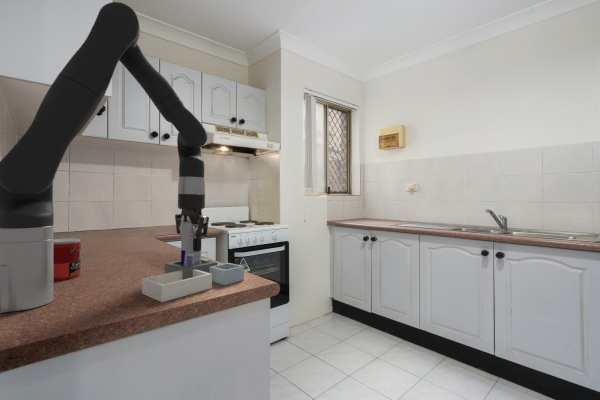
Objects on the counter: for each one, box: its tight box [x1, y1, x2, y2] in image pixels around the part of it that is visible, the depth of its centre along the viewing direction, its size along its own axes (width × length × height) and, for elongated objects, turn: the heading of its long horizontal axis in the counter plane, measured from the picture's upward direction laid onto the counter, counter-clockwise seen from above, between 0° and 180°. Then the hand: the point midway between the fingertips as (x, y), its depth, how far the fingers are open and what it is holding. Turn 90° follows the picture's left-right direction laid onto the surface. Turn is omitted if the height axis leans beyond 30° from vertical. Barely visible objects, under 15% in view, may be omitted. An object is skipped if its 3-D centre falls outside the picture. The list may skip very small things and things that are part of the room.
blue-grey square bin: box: [209, 262, 245, 286], centre depth 87 cm, size 7×7×4 cm
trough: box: [141, 269, 213, 303], centre depth 77 cm, size 14×10×4 cm
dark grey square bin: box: [164, 257, 218, 280], centre depth 89 cm, size 10×10×5 cm
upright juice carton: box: [180, 221, 202, 267], centre depth 89 cm, size 6×6×15 cm
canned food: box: [53, 237, 82, 282], centre depth 88 cm, size 8×8×11 cm
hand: (191, 249), depth 89 cm, fingers closed on upright juice carton, 5 cm apart
